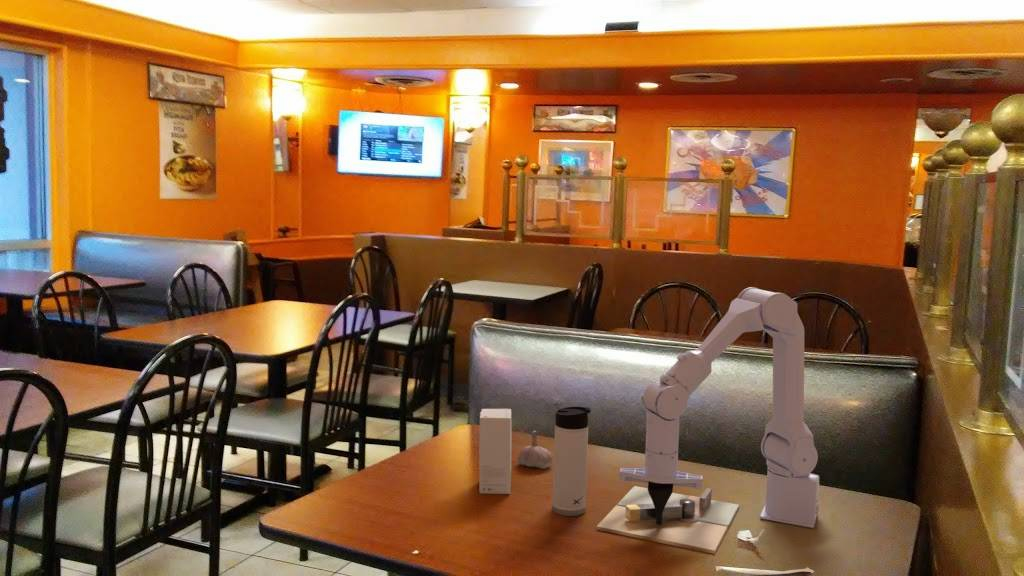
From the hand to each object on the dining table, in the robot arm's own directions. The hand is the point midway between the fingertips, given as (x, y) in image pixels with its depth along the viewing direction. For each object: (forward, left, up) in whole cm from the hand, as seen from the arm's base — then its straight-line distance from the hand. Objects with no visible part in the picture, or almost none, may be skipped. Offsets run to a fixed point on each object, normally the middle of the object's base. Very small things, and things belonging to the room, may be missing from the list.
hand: (658, 522), depth 147 cm
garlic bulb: (+33, -21, -2) cm, 39 cm away
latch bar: (0, -3, 0) cm, 3 cm away
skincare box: (+35, -5, -2) cm, 36 cm away
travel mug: (+17, -1, -1) cm, 17 cm away
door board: (-1, -6, -1) cm, 6 cm away
